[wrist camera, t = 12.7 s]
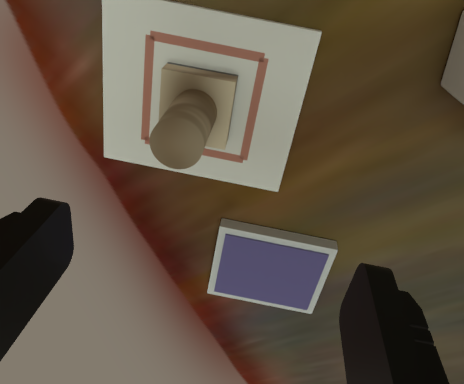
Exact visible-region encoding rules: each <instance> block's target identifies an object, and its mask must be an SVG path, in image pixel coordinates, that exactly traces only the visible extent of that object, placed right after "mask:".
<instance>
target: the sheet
mask: <svg viewBox="0 0 464 384" xmlns="http://www.w3.org/2000/svg"><path fill="white" fill-rule="evenodd" d="M321 34H322V31H321V30H316V29H311V28H306V27H301V26H296V25H291V24H286V23H281V22H275V21H270V20H265V19H260V18H255V17H250V16H245V15H240V14H235V13H230V12H225V11H220V10H215V9H210V8H205V7H200V6H195V5H190V4H185V3H180V2H175V1H170V0H102V39H103V120H104V157H106V158H111V159H116V160H121V161H126V162H131V163H136V164H141V165H146V166H151V167H156V168H161V169H166V170H171V171H176V172H181V173H185V174H190V175H195V176H200V177H205V178H210V179H215V180H220V181H225V182H230V183H235V184H240V185H245V186H250V187H255V188H260V189H265V190H270V191H275V192H278V190H279V187H280V183H281V179H282V176H283V172H284V168H285V165H286V161H287V158H288V154H289V150H290V147H291V143H292V139H293V136H294V132H295V128H296V125H297V121H298V117H299V114H300V110H301V107H302V103H303V99H304V96H305V92H306V88H307V85H308V81H309V77H310V74H311V70H312V66H313V63H314V59H315V56H316V52H317V48H318V45H319V41H320V37H321ZM168 62H172V63H177V64H182V65H188V66H193V67H198V68H204V69H209V70H215V71H220V72H225V73H231V74H236V75H238V81H237V87H236V93H235V99H234V105H233V111H232V117H231V124H230V130H229V136H228V141H227V144H226V148H225V150H223V149H217V148H212V147H207V146H205V148H204V151H203V153H202V156H201V158H200V159H199V161H198V162H197V163H196V164H195V165H193V166H191V167H189V168H186V169H173V168H169V167H167V166H165V165H163V164H162V163H160V162H159V161H158V160H157V159H156V158H155V156H154V155H153V153H152V151H151V148H150V143H149V139H150V134H151V132H152V130H153V128H154V127H155V126H156V124H157V123H158V122H159V104H160V86H161V69H162V68H163V67H164V66H165V65H166V64H167V63H168Z"/></svg>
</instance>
